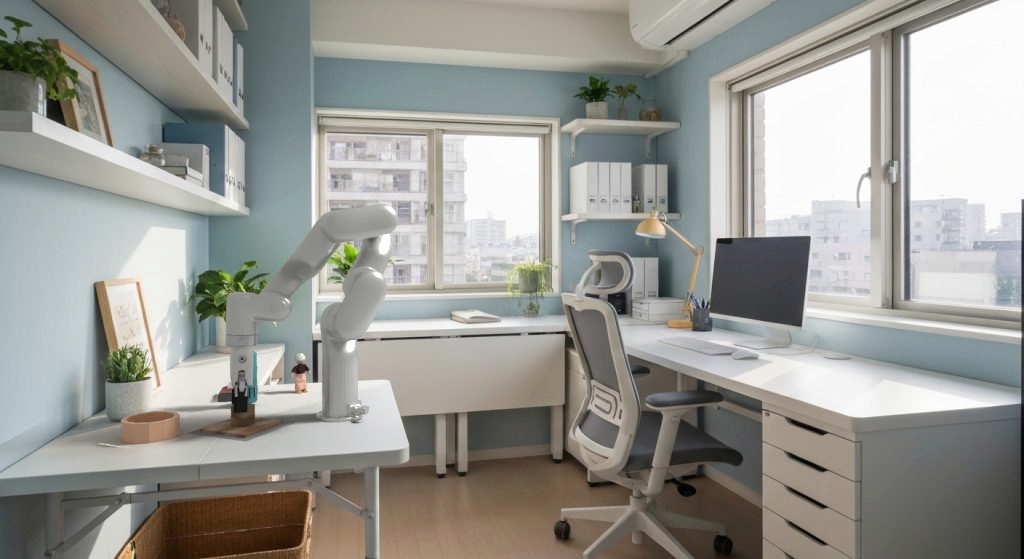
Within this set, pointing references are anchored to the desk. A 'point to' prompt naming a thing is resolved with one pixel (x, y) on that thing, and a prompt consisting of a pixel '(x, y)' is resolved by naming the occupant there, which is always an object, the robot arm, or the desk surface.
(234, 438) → the mat
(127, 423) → the bowl
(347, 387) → the robot arm
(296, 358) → the grandmother figurine
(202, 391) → the desk surface
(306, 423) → the desk surface
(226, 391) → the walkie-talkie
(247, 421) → the lid
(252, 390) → the beverage bottle
